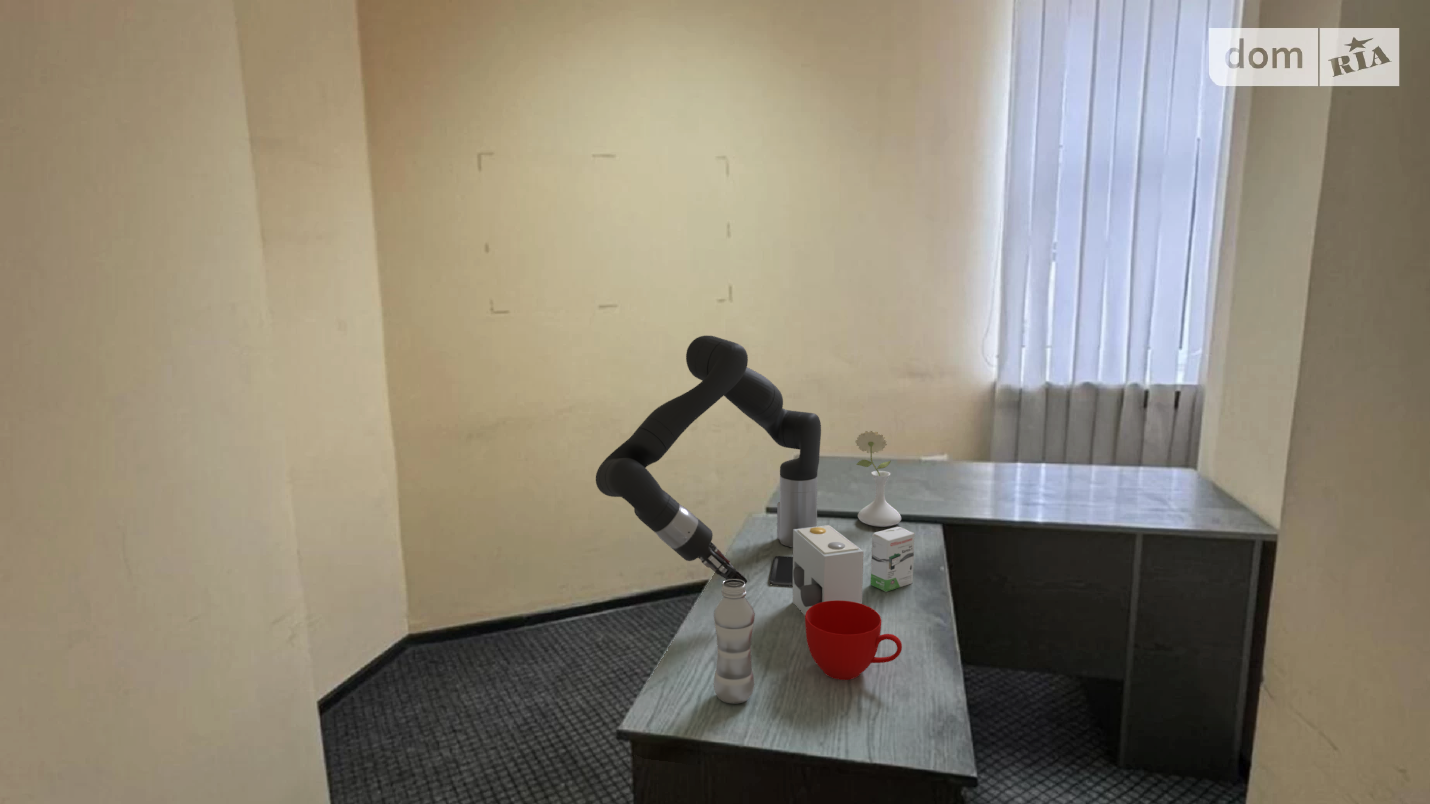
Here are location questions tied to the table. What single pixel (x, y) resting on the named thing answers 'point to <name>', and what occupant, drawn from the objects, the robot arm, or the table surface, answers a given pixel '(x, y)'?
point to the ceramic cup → (845, 638)
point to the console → (827, 564)
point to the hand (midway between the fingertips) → (743, 583)
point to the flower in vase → (879, 508)
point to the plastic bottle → (734, 644)
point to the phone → (782, 571)
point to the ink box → (892, 558)
